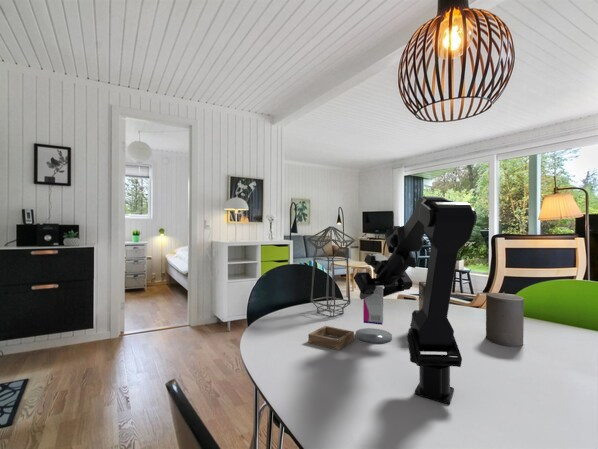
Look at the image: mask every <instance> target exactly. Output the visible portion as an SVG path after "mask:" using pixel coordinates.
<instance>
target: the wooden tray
mask: <svg viewBox="0 0 598 449" xmlns="http://www.w3.org/2000/svg"><path fill="white" fill-rule="evenodd" d="M328 336H329V337H328ZM307 337H308V344H311V345H312V344H313V345H315V346H321V347H323V348H324V347H325V348H328V349H332V350H337V351H340V350H342V349H344V347H346V346H347V345H349V344H350V343H351V342H353V341H354V340H355V331H353V330H348V329H345V328H344V329H343V328H338V327H333V326H330V325H329V326H328V325H324V326H322V327H319V328H318V329H316V330H314V331H312V332H310V333H308V336H307ZM333 337H334V338H333Z"/></svg>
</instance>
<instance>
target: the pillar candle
mask: <svg viewBox="0 0 598 449" xmlns="http://www.w3.org/2000/svg"><path fill="white" fill-rule="evenodd" d="M485 295H486V296H485V339H486V340H487V341H489V342H491V343H493V344H496V345H500V346H505V347H514V348H515V347H522V346H523V345H524V330H525V329H524V328H525V326H524V323H525V322H524V318H525V317H524V312H525V311H524V308H525V306H524V305H525V304H524V303H525V302H524V300H525V298H524V297H522V296H519V295H518V294H517V295H516V294H515V295H514V294H510V293H505V291H503V292H502V293H501V292H487V293H486V294H485Z"/></svg>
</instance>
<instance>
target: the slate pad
mask: <svg viewBox="0 0 598 449" xmlns="http://www.w3.org/2000/svg"><path fill="white" fill-rule="evenodd" d="M355 337H356V338H357V339H358V340H359V341H362V342H365V343H370V344H386V343H387V344H388V343H389V342H391V341H392V340H393V334H392V333H391V332H390V331H387V330H385V329H380V328H373V327H371V328H369V327H368V328H359V329H357V330H356V331H355Z"/></svg>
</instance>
